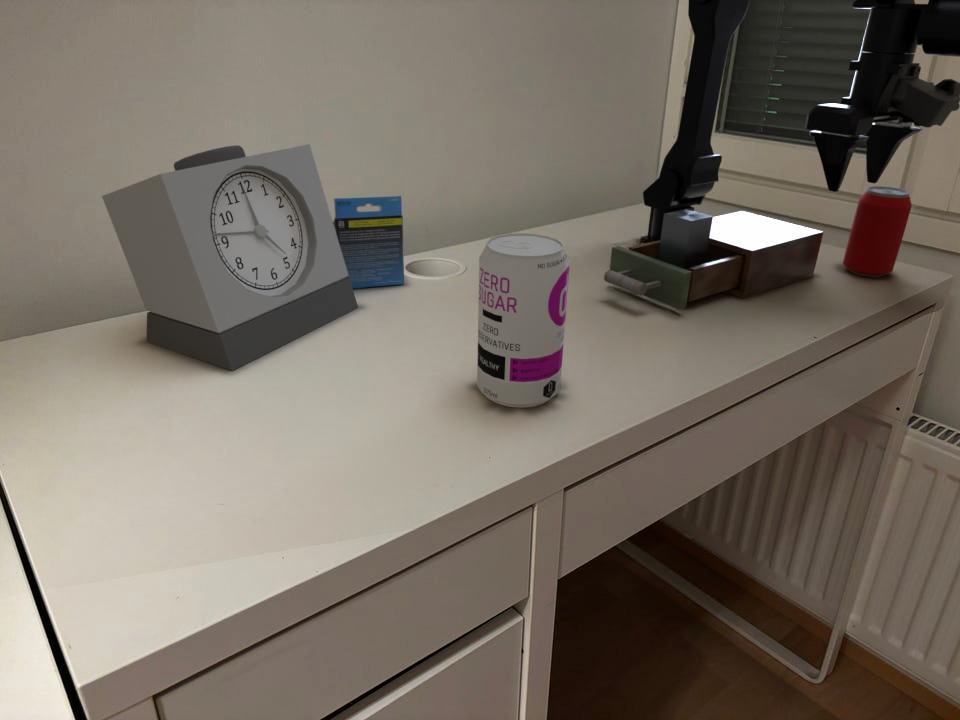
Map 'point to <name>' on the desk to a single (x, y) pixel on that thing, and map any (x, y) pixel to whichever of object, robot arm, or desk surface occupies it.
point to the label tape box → (371, 240)
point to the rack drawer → (673, 274)
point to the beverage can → (877, 231)
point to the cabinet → (766, 250)
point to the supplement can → (521, 318)
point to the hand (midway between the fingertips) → (853, 186)
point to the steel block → (685, 238)
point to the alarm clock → (233, 253)
